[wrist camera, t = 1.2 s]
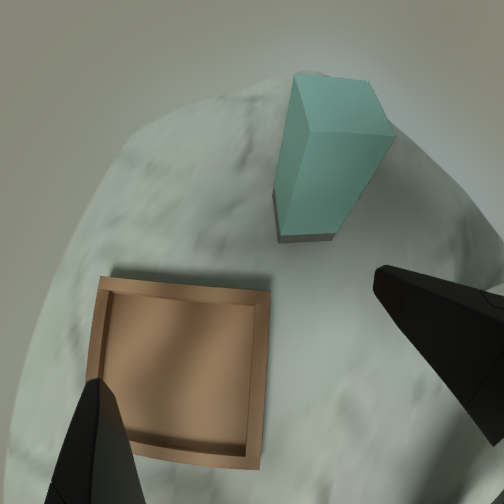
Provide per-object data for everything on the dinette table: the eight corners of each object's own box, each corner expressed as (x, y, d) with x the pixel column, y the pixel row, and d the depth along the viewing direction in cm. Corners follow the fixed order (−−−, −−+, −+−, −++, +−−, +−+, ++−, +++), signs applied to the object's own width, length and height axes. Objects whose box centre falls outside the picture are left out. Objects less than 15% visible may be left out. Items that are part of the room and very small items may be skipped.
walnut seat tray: (268, 296, 24) (270, 291, 22) (257, 463, 19) (259, 469, 17) (108, 281, 24) (100, 275, 22) (91, 437, 19) (83, 440, 17)
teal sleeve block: (321, 194, 27) (368, 81, 15) (331, 240, 26) (395, 136, 14) (272, 195, 27) (294, 74, 15) (278, 243, 25) (310, 131, 13)
